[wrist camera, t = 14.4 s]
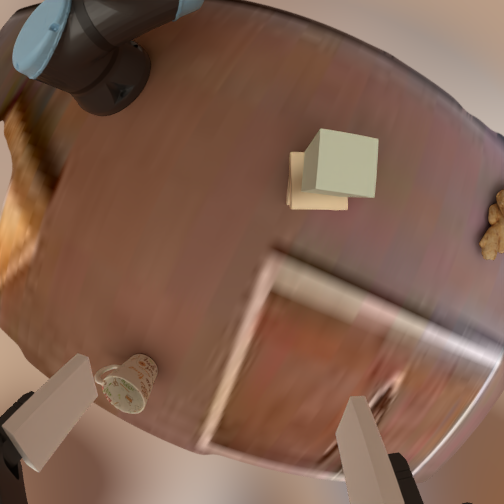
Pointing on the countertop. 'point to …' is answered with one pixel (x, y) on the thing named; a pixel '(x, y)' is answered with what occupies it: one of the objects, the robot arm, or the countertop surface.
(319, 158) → the pale green block
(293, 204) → the slab upper
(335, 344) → the countertop surface
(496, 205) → the ginger root
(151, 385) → the mug
